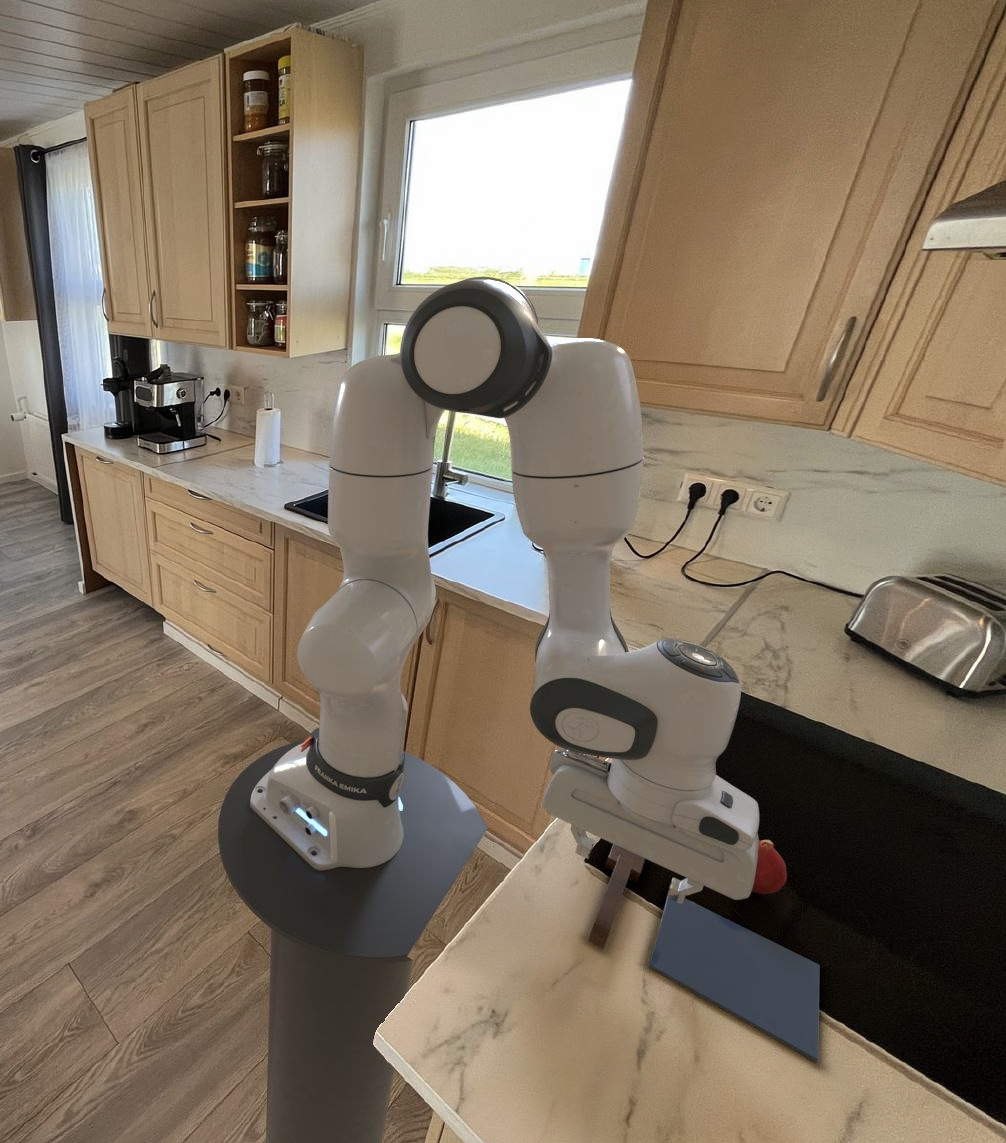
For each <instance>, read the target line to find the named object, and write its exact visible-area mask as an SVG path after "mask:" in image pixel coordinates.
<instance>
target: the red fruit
mask: <svg viewBox="0 0 1006 1143" xmlns="http://www.w3.org/2000/svg"><path fill="white" fill-rule="evenodd" d="M787 878H788V873H787V866H786V862H785V860H784V859H783V858H782V856H781V854H779V852H778V851H777V850H776V849H775V844H774V843H773V842H772V841H771V840H770V839H763V840H760V839H759V849H758V859H757V867H756V873H755V879H754V884H753V888H752V891H751V893H754V894H762V895H769V894H770V895H771V894H774V893H778V892H779V891H780V890H781V889H782V887H784V885H785V884H786V883H787Z"/></svg>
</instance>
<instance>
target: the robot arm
mask: <svg viewBox="0 0 1006 1143" xmlns="http://www.w3.org/2000/svg"><path fill="white" fill-rule="evenodd" d="M399 348H400V349H399V352H397V353H395V354H383V355H374V356H371V357H367V358H365V359H362V360H360V361H358V362H357V363H355V364H353V365H352V366H350V367H349V368H348V369H347V370H346V371H345V373H344V374H343V376H342V377H341V379H340V382H339V386H338V389H337V394H336V398H335V403H334V409H333V410H334V411H333V414H332V415H333V416H332V422H331V430H330V440H329V454H328V455H329V460H328V491H327V492H328V497H327V498H328V499H327V507H328V508H327V530H328V533H329V535H330V537H331V539H332V540H333V542H335V543H336V544H338V548H339V551H340V555H341V559H342V564H343V576H342V580H341V584H340V586H339V588H338V590H337V591H336V592H335V593H334V594H333V595H332V596H331V597H330V598H329V599H328V600H326V602H324V604H322V606H320V607H319V608H318V609H317V610H316V611H315V612H314V614H313V615H312V617H311V618H310V620H309V621H308V623H307V626H306V627H305V629H304V632H303V633H302V635H301V638H300V639H299V642H298V644H297V649H296V650H297V652H296V655H297V656H296V657H297V662H298V663H297V664H298V666H299V669H300V671H301V673H302V675H303V678H305V680H306V681H307V682H308V684H309V685H310V686H311V687H312V688H313V689H314V690H315V691H317V692H318V694H319V703H320V706H319V708H320V709H319V726H318V727H316V728H315V729H313V731H311V732H310V733H309V737H308V738H306V739H305V740H306V741H303V740H302V739H301V740H299V741H300V743H299V744H298V745H297V746H296V747H294V748H293V749H291V750H290V751H288V752H287V753H286V754H285V755H284V756H282V757H281V758H280V759H279V761H278V762H277V763H276V764H275V766H274V767H273V769H271V770H270V771H269V772H268V773H267V774H266V775H265V776H264V777H263V778H262V779H261V780H260V781H259V782H258V784H257V785H256V787H255V788H254V790H253V792H252V795H251V801H250V807H251V808H252V809H253V810H254V811H255V812H256V813H257V814H258V815H259V816H260V817H261V818H262V819H263V820H264V821H265V822H266V823H267V824H268V825H269V826H270V827H271V828H272V829H273V830H274V831H275V832H276V833H278V834H279V835H280V836H281V837H282V838H283V839H284V840H285V841H286V842H287V843H288V844H289V845H290V846H291V847H292V848H293V849H294V850H295V851H296V852H297V853H298V854H299V855H300V856H301V857H303V858H304V859H305V860H306V861H307V862H308V863H309V864H310V865H311V866H312V867H313V868H314V869H316V870H329V869H333V868H336V867H351V868H368V867H374V866H377V865H380V864H383V863H385V862H387V861H388V860H390V859H391V858H392V857H394V856H395V855H396V853H397V852H398V851H399V849H400V848H401V845H402V842H403V837H404V831H403V826H402V822H401V818H400V811H402V809H403V805H402V803H401V800H400V798H399V794H400V791H401V788H402V783H403V777H404V774H403V772H404V762H405V753H404V752H405V750H404V745H405V736H406V728H407V723H408V721H407V720H408V713H409V705H408V702H407V699H406V698H405V696H404V694H403V693H402V675H403V674H402V673H403V670H404V667H405V664H406V661H407V659H408V657H409V654H410V652H411V650H412V648H413V647H414V645H415V644H416V642H417V641H418V640H419V638H420V636H421V635H422V633H423V632H424V630H425V629H426V628H427V626H428V624H429V622H430V621H431V618H432V614H433V611H434V607H435V602H436V596H437V591H436V590H437V588H436V584H435V581H434V579H433V578H434V577H433V576H432V567H431V559H430V550H429V521H430V508H431V497H432V496H431V494H432V482H433V472H434V459H435V447H436V446H435V445H436V437H437V430H438V427H439V423H440V420H441V418H442V416H443V414H444V412H445V411H449V412H453V413H460V414H467V415H476V416H483V417H488V418H493V419H504V421H505V423H506V426H507V430H508V437H509V446H510V465H511V466H510V468H511V482H512V483H511V484H512V493H513V499H514V503H515V508H516V509H515V510H516V513H517V516H518V520H519V523H520V526H521V530H522V533H523V535H524V536H525V537H526V538H527V539H528V540H529V541H530V542H531V543H533V544H534V545H535V546H537V547H539V548H541V549H542V550H543V552H544V555H545V559H546V566H547V581H548V582H547V584H548V604H549V614H548V618H547V621H546V622H545V624H544V626H543V627H542V630H541V631H540V633H539V636H538V637H537V640H536V644H535V649H534V657H535V658H534V662H535V663H534V672H533V679H532V687H531V694H530V695H531V696H530V704H529V712H530V718H531V720H532V722H533V724H534V726H535V728H536V729H537V730H538V732H539V733H540V734H541V736H543V737H544V739H546V740H547V741H549V742H550V743H552V744H554V745H555V746H556V747H559V749H555V750H554V751H553V752H552V753H551V755H550V760H549V765H548V766H549V770H550V772H551V774H552V777H551V779H550V781H549V782H548V785H547V786H546V789H545V792H544V794H543V797H542V800H541V804H542V807H543V808H544V810H545V812H546V813H547V814H548V815H550V816H552V817H554V818H557V819H558V820H561V821H563V822H565V823H568V824H570V833H571V834H572V836H573V839H574V840H575V844H577V845H576V848H575V851H574V853H575V854H577V855H579V856H581V857H582V858H585V859H587V860H589V859H590V856H591V855H592V852H593V848H594V845H595V839H592V838H590V837H588V834H587V833H589V834H591V835H593V836H596V837H598V838H600V839H602V840H604V841H606V842H608V843H610V844H612V845H613V844H615V845H617V846H619V847H621V848H624V849H626V850H628V851H630V852H632V853H634V854H637V855H639V856H641V857H643V858H645V860H648V861H650V862H652V863H654V864H656V865H658V866H661V867H663V868H665V869H667V870H669V871H671V872H674V873H676V874H678V875H680V876H682V877H685V878H684V879H682V880H681V879H678V878H676V877H672V879H671V881H670V884H669V887H668V890H667V893H666V899H667V898H669V899H671V900H673V901H675V902H677V903H679V904H681V905H682V903H683V901H684V898H685V899H686V896H690V895H693V894H696V893H699V892H702V891H703V888H704V887H706V888H708V889H710V890H712V891H714V892H717V893H719V894H721V895H723V896H724V897H725V896H726V897H728V898H730V899H732V900H734V901H740V900H745V899H749V898H750V897H751V894H752V892H751V891H752V888H753V884H754V879H755V873H756V867H757V859H758V849H759V840H760V838H759V834H758V832H759V826H760V808H759V803H758V802H757V800H756V799H754V798H753V797H751V796H750V795H749V794H747V793H745V792H743V791H742V790H740V789H739V788H737V787H736V786H734V785H732V784H731V783H729V782H728V781H726V780H725V779H724V778H722V777H720V776H719V775H717V769H716V767H717V766H716V764H717V760H718V758H719V756H721V755H722V754H723V753H724V752H725V751H726V749H727V747H728V745H729V742H730V739H731V736H732V734H733V731H734V727H735V722H736V720H737V716H738V712H739V708H740V703H741V695H742V694H741V693H742V687H741V681H740V679H739V677H738V674H737V673H736V671H735V670H734V668H733V667H732V666H731V664H729V662H727V660H726V659H724V657H721V656H720V655H718V654H717V653H715V652H714V651H713V650H711V649H709V648H707V647H705V646H703V645H700V644H698V643H695V642H693V641H689V640H685V639H680V638H672V637H670V638H669V637H667V638H661V639H658V640H657V641H655V642H653V643H651V644H649V645H647V646H645V647H641V648H637V649H634V650H631V651H629V648H628V645H627V644H628V643H626V640H625V638H624V636H623V634H622V632H621V631H620V629H619V628H618V626H617V625H616V623H615V620H614V619H613V617H612V610H611V563H612V562H611V561H612V554H613V550H614V548H615V546H616V545H617V544H618V543H620V542H621V541H622V540H624V539H625V538H626V537H627V536H628V535H629V534H630V533H631V532H632V531H633V529H634V526H635V522H636V518H637V515H638V510H639V506H640V502H641V497H642V496H641V495H642V490H643V480H644V433H643V432H644V431H643V417H642V410H641V402H640V396H639V390H638V384H637V380H636V375H635V371H634V367H633V362H632V360H631V358H630V356H629V354H628V353H627V352H626V351H625V350H624V349H623V347H620V345H618V344H616V343H613V342H610V341H607V340H603V339H599V338H589V337H588V338H574V339H568V340H555V339H552V338H549V337H547V336H546V335H545V334H544V333H543V332H542V330H541V329H540V326H539V319H538V316H537V312H536V309H535V307H534V305H533V303H532V301H531V300H530V299H529V297H528V296H527V295H526V294H525V293H524V292H523V291H522V290H521V289H519V287H517V286H515V285H513V284H512V283H510V282H508V281H505V280H503V279H500V278H496V277H491V276H474V277H469V278H465V279H462V280H459V281H456V282H452V283H449V284H447V285H445V286H442V287H441V288H439V289H437V290H435V291H434V292H432V293H431V294H430V295H428V296H427V297H426V298H425V299H424V300H423V301H422V302H421V303H420V304H418V306H417V307H416V308H415V310H414V311H413V313H411V316H410V317H409V319H408V321H407V323H406V325H405V328H404V330H403V333H402V336H401V341H400V347H399ZM601 758H605V759H612V760H611V762H609V761H607V760H604V759H601ZM399 809H400V810H399ZM312 854H315V856H313V855H312Z"/></svg>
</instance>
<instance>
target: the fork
mask: <svg viewBox="0 0 1006 1143" xmlns="http://www.w3.org/2000/svg"><path fill="white" fill-rule="evenodd" d="M645 862H646V859H645V858H643V857H641V856H639V855H637V854H634V853H632V852H630V851H628V850H626V849H624V848H621V847H619V846H617V845H615V844H613V843H612V845H611V849H610V852H609V853H608V857H607V859H606V863H605V865H604V868H605V869H607V870H609V871H611V872H612V873H611V876H610V879H609V881H608V884H607V887H606V890H605V893H604V896H603V898H602V900H601V903H600V905H599V908H598V912H597V913H596V916H595V919H594V922H593V925H592V927H591V930H590V933H589V936H588V939H587V940H588V942H590V943H592V944H593V945H594V946H597V947H598V948H600V949H601V950H604V949H605V947H606V944H607V941H608V938H609V936H610V933H611V930H612V927H613V925H614V922H615V919H616V916H617V912H618V910H619V908H620V905H621V901H622V898H623V895H624V893H625V889H626V887H627V883H628V880H629V881H631V882H633V883H635V884H638V882H639V878H640V876H641V873H642V871H643V867H644V864H645Z"/></svg>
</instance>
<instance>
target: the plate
mask: <svg viewBox="0 0 1006 1143" xmlns="http://www.w3.org/2000/svg"><path fill="white" fill-rule="evenodd" d="M648 968H649V969H651V970H653V971H655V972H656V973H658V974H660V975H661V976H663V977H665V978H666V979H668V980H670V981H672V982H673V983H675V984H677V985H678V986H680V987H682V988H684V989H685V990H688V991H690V992H691V993H693V994H695V995H697V996H699V997H700V998H702V999H704V1000H705V1001H707V1002H709V1003H711V1004H713V1005H714V1006H716V1007H718V1008H720V1009H722V1011H725V1012H727V1013H729V1014H730V1015H732V1016H734V1017H735V1018H736V1019H739V1020H741V1021H742V1022H744V1023H746V1024H747V1025H750V1026H751V1027H753V1028H755V1029H757V1030H758V1031H760V1032H761V1033H764V1034H765V1035H767V1036H769V1037H771V1038H772V1039H774V1040H776V1041H777V1042H779V1043H781V1044H782V1045H784V1046H786V1047H788V1048H790V1049H792V1050H793V1051H795V1052H797V1053H799V1054H801V1055H802V1056H804V1057H806V1058H808V1059H809V1060H811V1061H812V1062H815V1063H817V1062H818V1061H819V1042H820V1040H819V1039H820V1037H819V1036H820V1035H819V1034H820V974H821V972H820V970H821V969H820V968H821V965H820V964H819V963H817V962H814V961H813V960H812V959H809V958H807V957H804V956H803V955H801V954H798V953H796V952H794V951H792V950H790V949H788V948H787V947H784V946H783V945H780V944H778V943H776V942H774V941H773V940H770V939H768V938H766V937H764V936H762V935H761V934H758V933H756V932H754V931H752V930H750V929H748V928H746V927H744V926H742V925H740V924H739V923H736V922H734V921H732V920H730V919H728V918H726V917H723V916H722V915H719V914H718V913H717V912H716V913H715V912H713V911H712V910H710V909H708V908H705V906H704V907H703V906H702V905H699V904H698V903H696V902H694V901H691V900H689V899H687V898H686V897H685V898H684V901H683V903H682V905H681V904H679V903H677V902H675V901H673V900H671V899H669V898H667V897H666V900H665V904H664V907H663V912H662V915H661V919H660V923H659V926H658V930H657V933H656V936H655V941H654V945H653V949H652V952H651V956H650V960H649V963H648Z"/></svg>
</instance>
